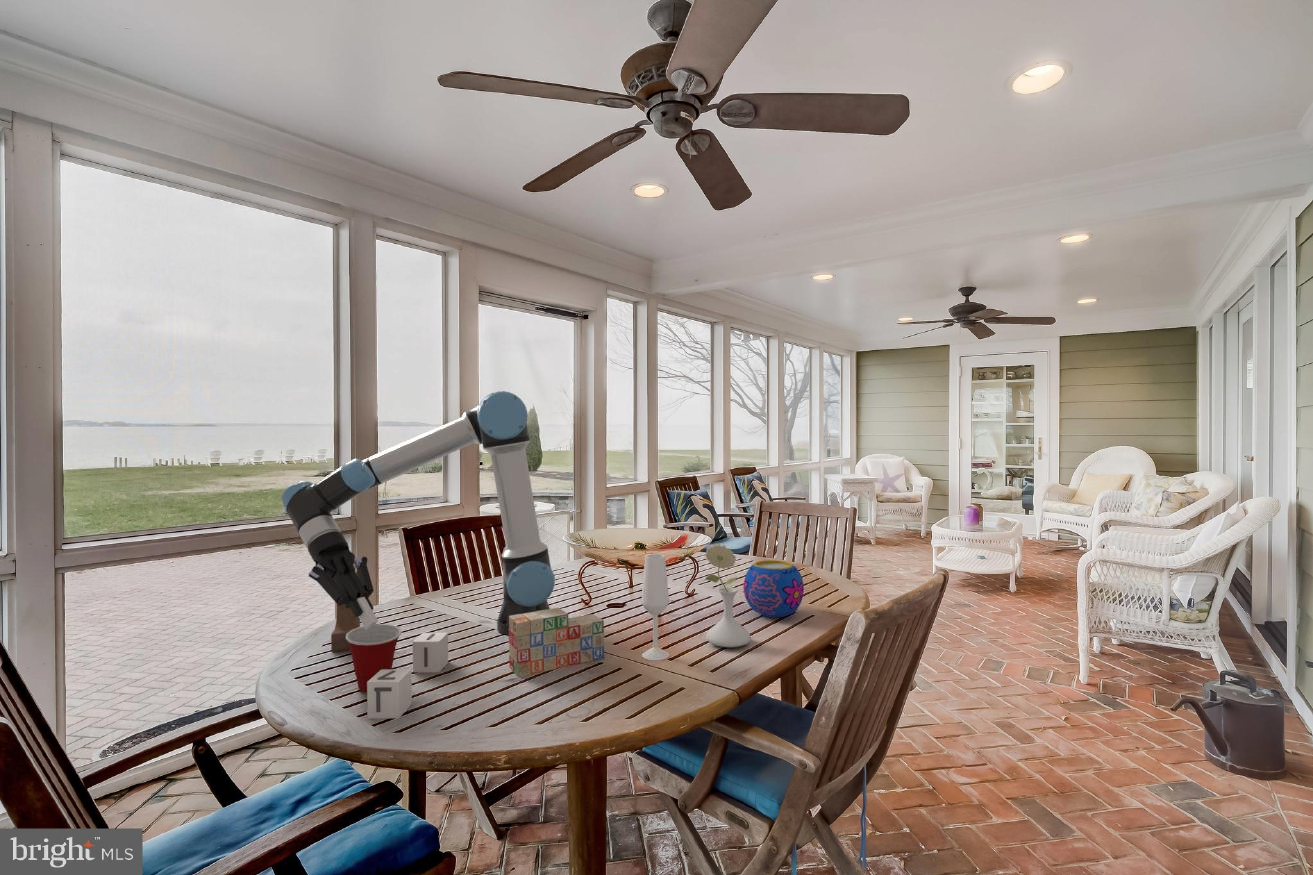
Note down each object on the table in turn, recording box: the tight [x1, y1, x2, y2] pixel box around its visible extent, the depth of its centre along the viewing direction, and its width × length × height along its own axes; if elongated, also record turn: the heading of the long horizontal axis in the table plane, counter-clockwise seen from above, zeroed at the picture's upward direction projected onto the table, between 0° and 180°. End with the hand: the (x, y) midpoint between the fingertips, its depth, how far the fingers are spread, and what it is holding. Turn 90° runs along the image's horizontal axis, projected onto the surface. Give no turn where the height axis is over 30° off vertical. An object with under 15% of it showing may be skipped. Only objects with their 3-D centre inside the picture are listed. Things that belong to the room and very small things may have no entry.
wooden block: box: [330, 570, 361, 652], centre depth 155 cm, size 9×4×18 cm, turn 12°
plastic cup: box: [346, 623, 402, 694], centre depth 129 cm, size 11×11×12 cm
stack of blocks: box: [508, 607, 605, 678], centre depth 142 cm, size 21×6×12 cm, turn 120°
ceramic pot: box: [742, 559, 805, 618], centre depth 178 cm, size 18×18×15 cm
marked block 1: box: [412, 632, 449, 673], centre depth 140 cm, size 6×6×7 cm
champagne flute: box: [641, 553, 670, 661], centre depth 147 cm, size 7×7×24 cm
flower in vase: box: [704, 543, 752, 648], centre depth 155 cm, size 13×11×25 cm
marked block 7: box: [366, 668, 413, 719], centre depth 118 cm, size 6×6×7 cm
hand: (372, 625), depth 129 cm, fingers closed
